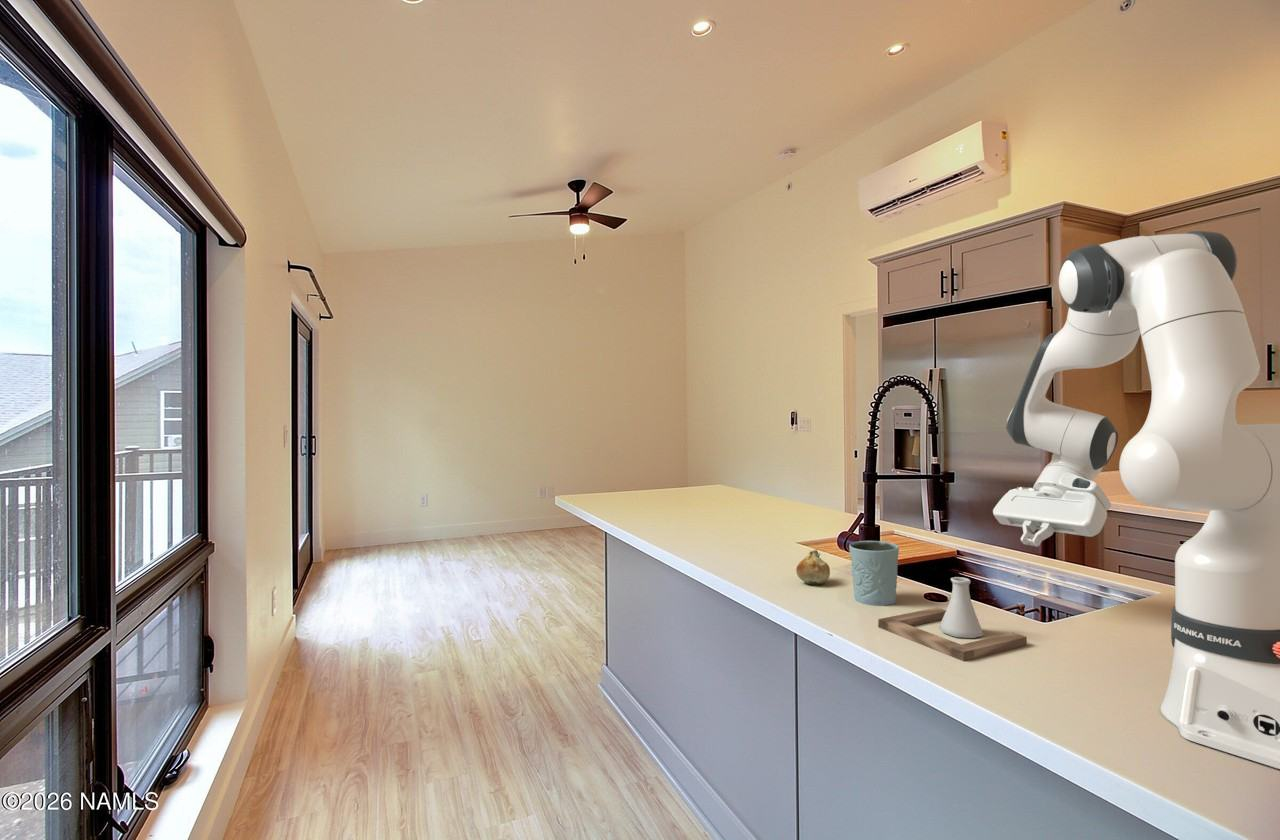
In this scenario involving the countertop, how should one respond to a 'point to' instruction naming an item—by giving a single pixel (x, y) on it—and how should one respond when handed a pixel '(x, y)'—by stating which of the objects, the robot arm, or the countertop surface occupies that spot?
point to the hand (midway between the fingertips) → (1028, 543)
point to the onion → (813, 569)
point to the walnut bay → (963, 652)
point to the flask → (961, 612)
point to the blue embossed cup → (874, 572)
